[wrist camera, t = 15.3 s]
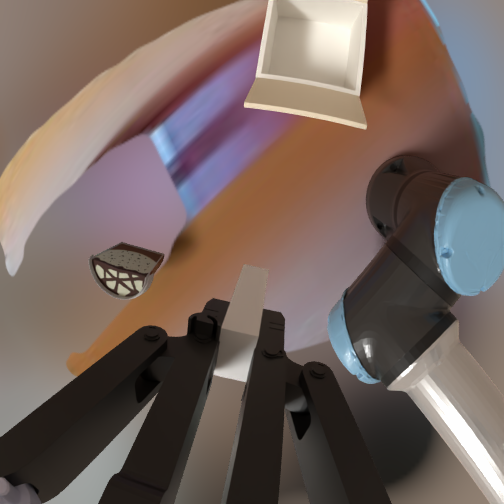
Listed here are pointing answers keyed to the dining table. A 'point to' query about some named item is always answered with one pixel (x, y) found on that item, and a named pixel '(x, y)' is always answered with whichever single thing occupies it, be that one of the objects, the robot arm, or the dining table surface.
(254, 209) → the dining table surface
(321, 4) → the carton
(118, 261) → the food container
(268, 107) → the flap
